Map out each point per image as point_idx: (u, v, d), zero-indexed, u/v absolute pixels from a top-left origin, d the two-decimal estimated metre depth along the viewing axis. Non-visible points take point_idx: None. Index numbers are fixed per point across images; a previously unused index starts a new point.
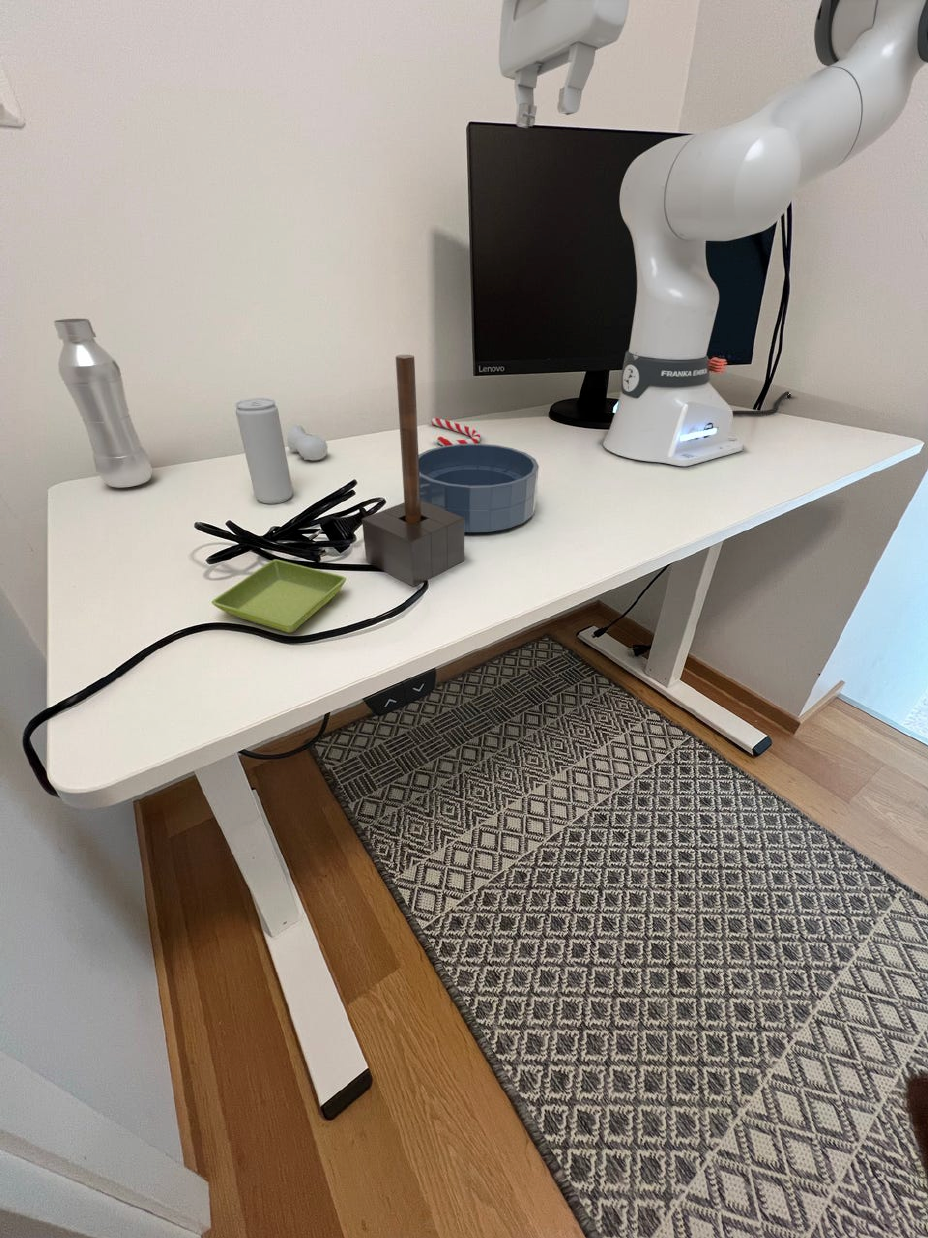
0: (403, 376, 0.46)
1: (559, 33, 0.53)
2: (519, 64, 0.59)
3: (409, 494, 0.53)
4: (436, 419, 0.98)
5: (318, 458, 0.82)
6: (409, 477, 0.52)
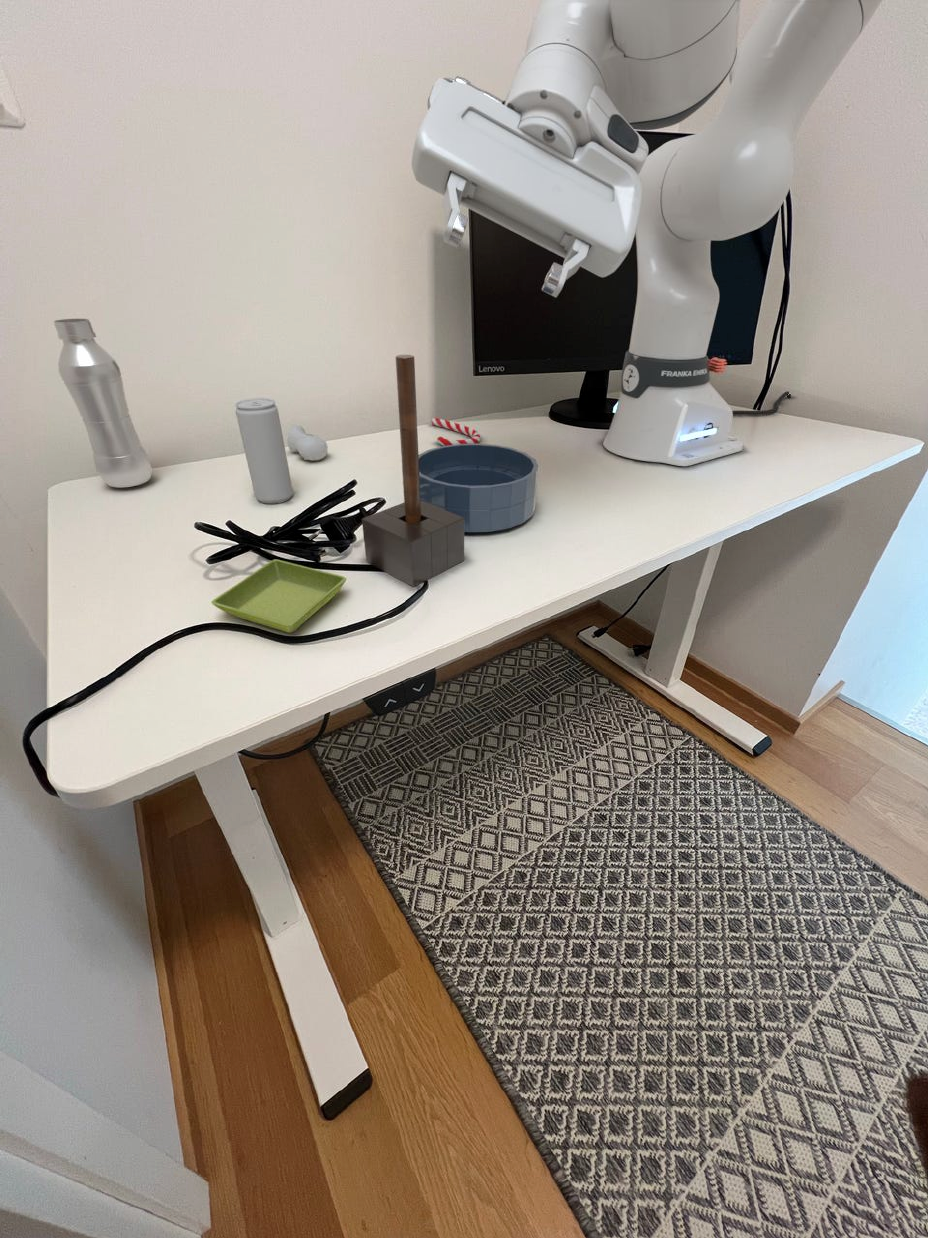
0: (403, 376, 0.46)
1: None
2: None
3: (409, 494, 0.53)
4: (436, 419, 0.98)
5: (318, 458, 0.82)
6: (409, 477, 0.52)
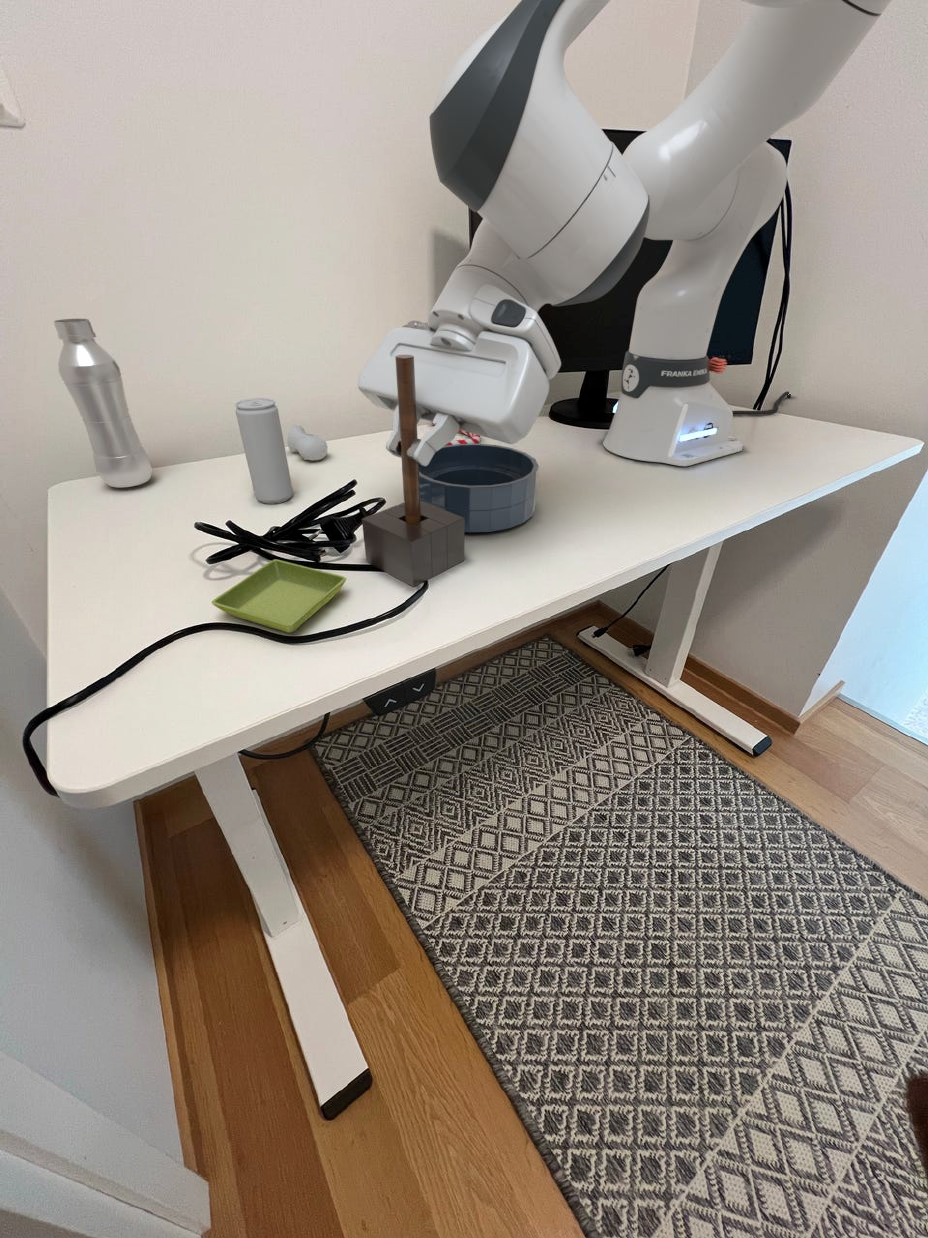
0: (403, 376, 0.46)
1: None
2: None
3: (409, 494, 0.53)
4: None
5: (318, 458, 0.82)
6: (409, 477, 0.52)
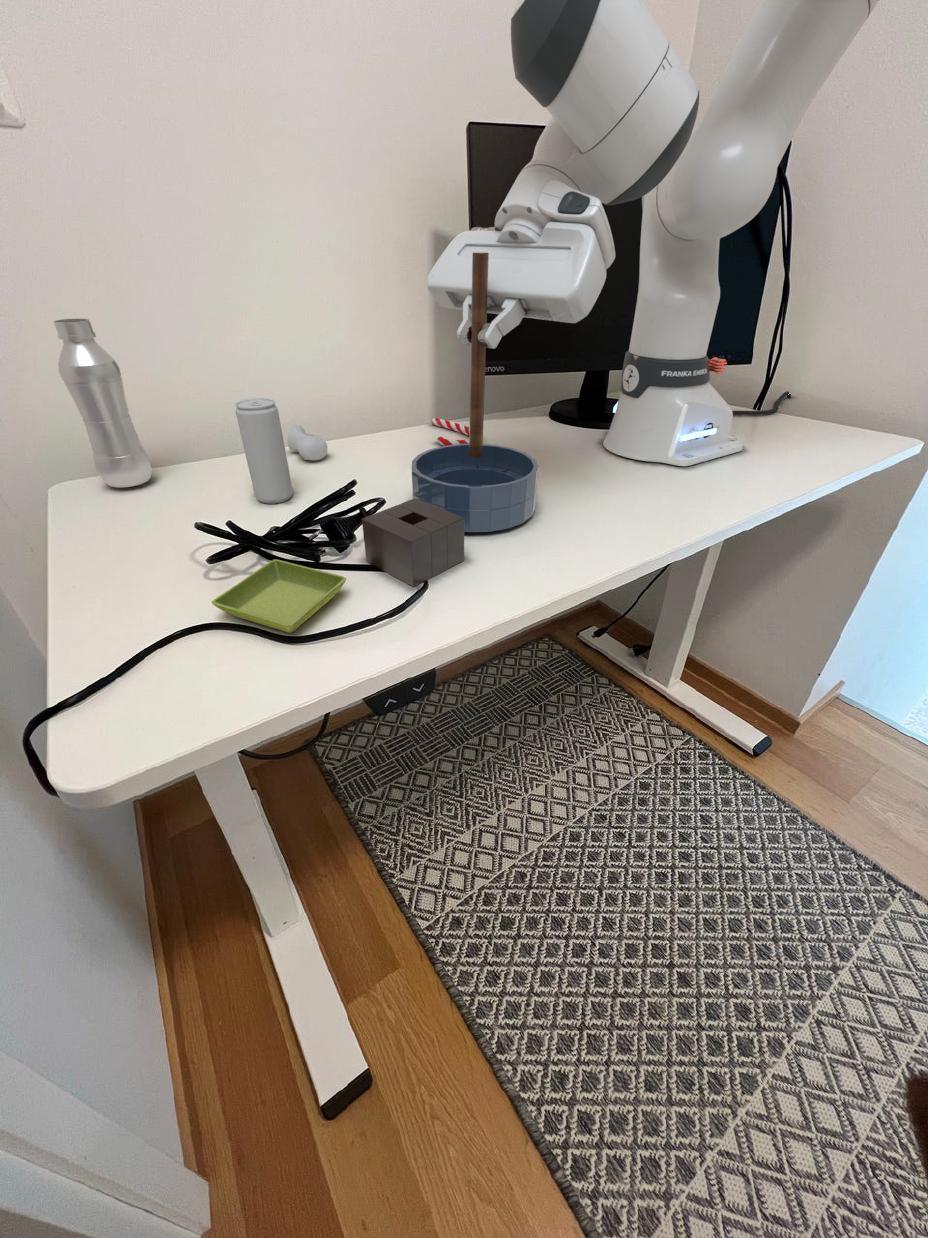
0: (479, 270, 0.53)
1: None
2: None
3: (476, 386, 0.59)
4: (436, 419, 0.98)
5: (318, 458, 0.82)
6: (477, 369, 0.58)
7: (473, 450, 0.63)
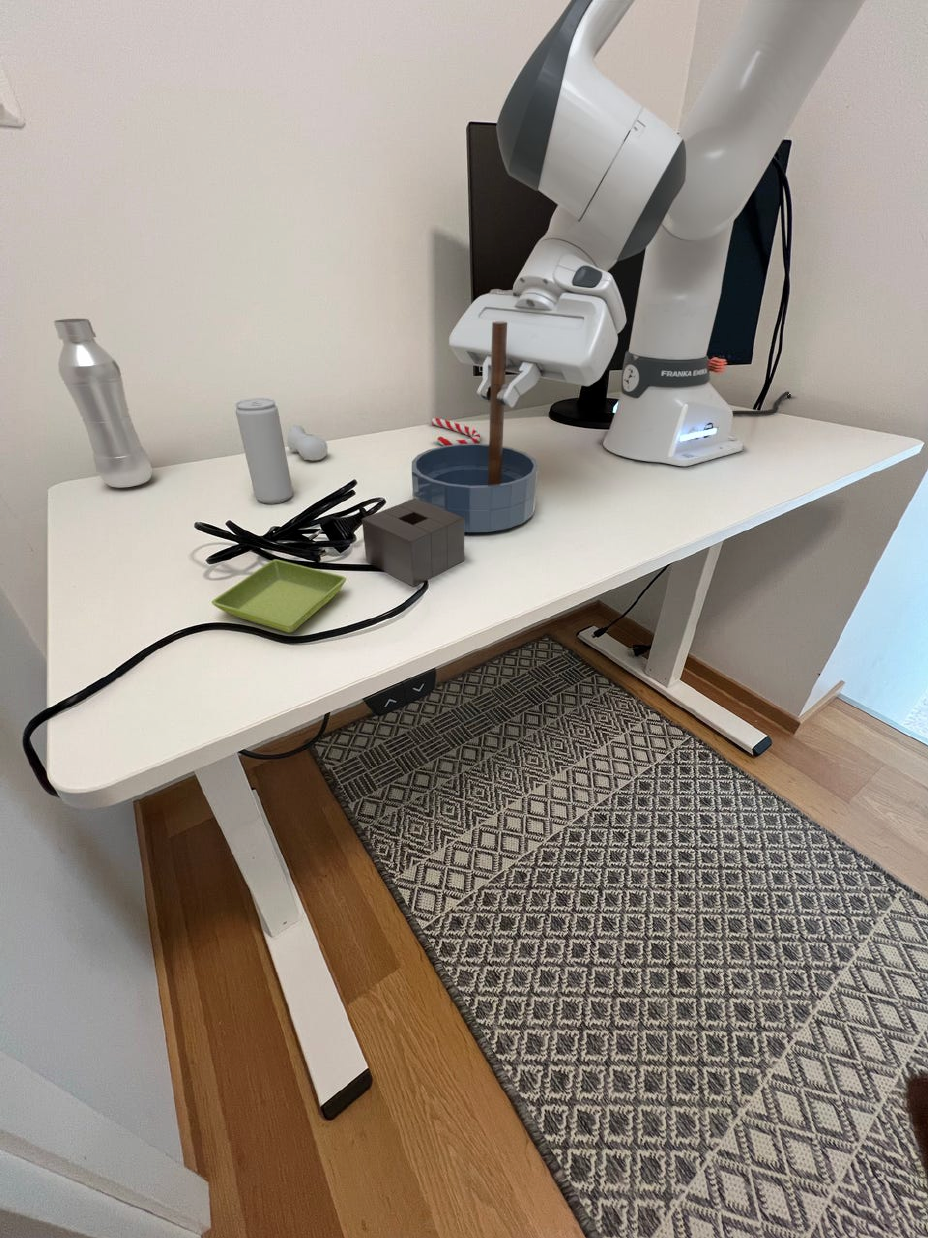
0: (498, 338, 0.57)
1: None
2: None
3: (495, 440, 0.63)
4: (436, 419, 0.98)
5: (318, 458, 0.82)
6: (496, 425, 0.62)
7: None
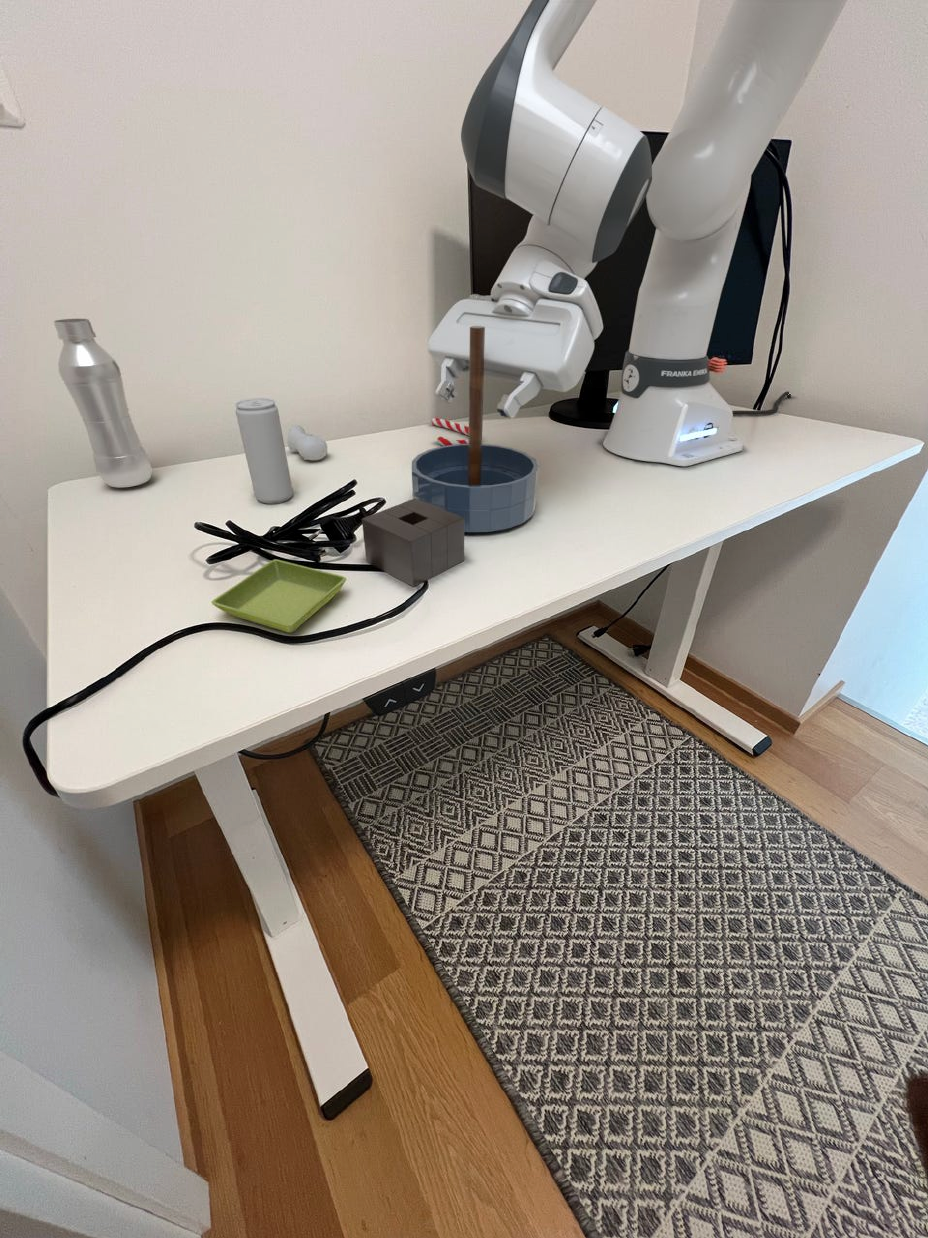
0: (476, 343, 0.57)
1: None
2: None
3: (474, 445, 0.63)
4: (436, 419, 0.98)
5: (318, 458, 0.82)
6: (474, 430, 0.62)
7: None
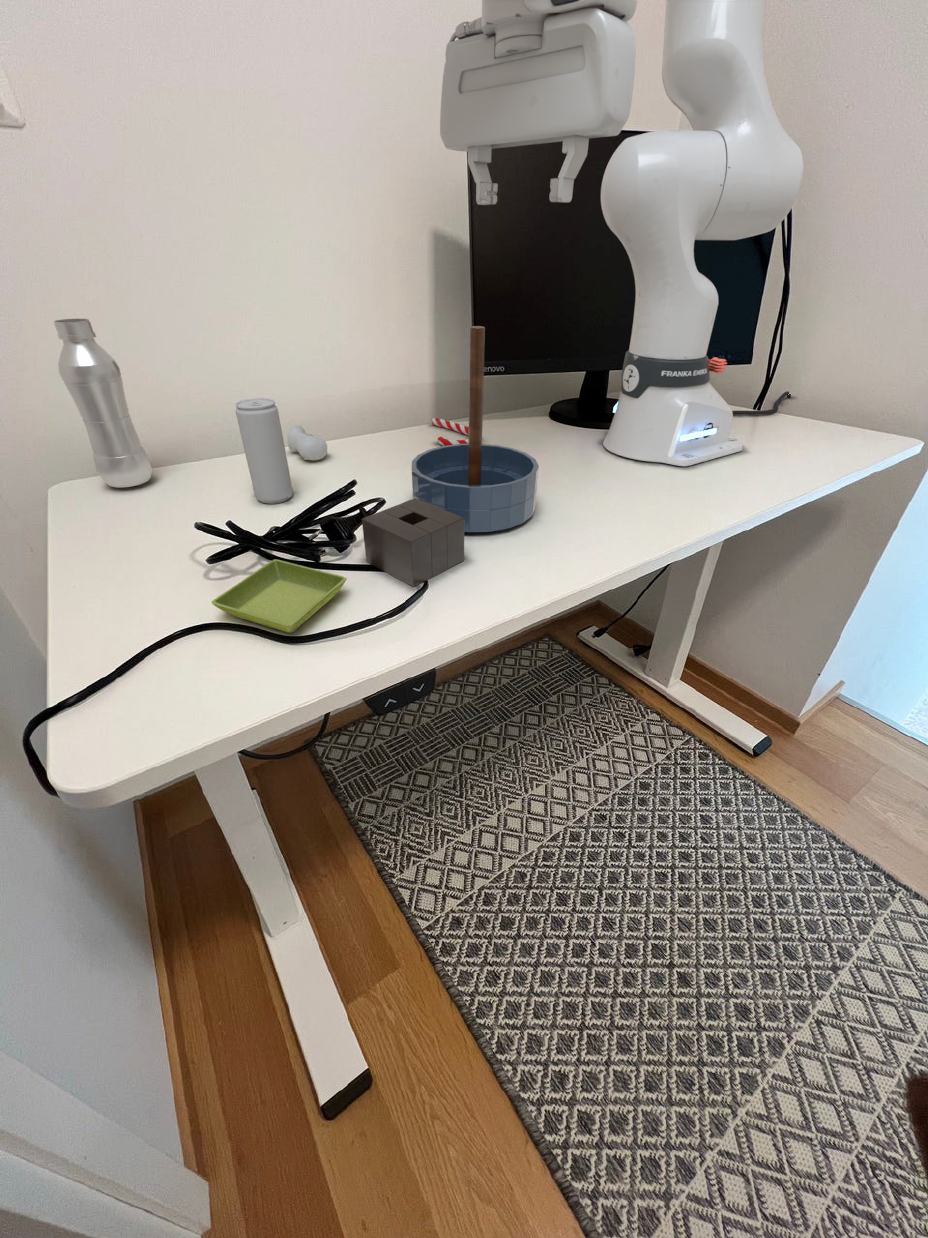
0: (476, 343, 0.57)
1: None
2: None
3: (474, 445, 0.63)
4: (436, 419, 0.98)
5: (318, 458, 0.82)
6: (474, 430, 0.62)
7: None
